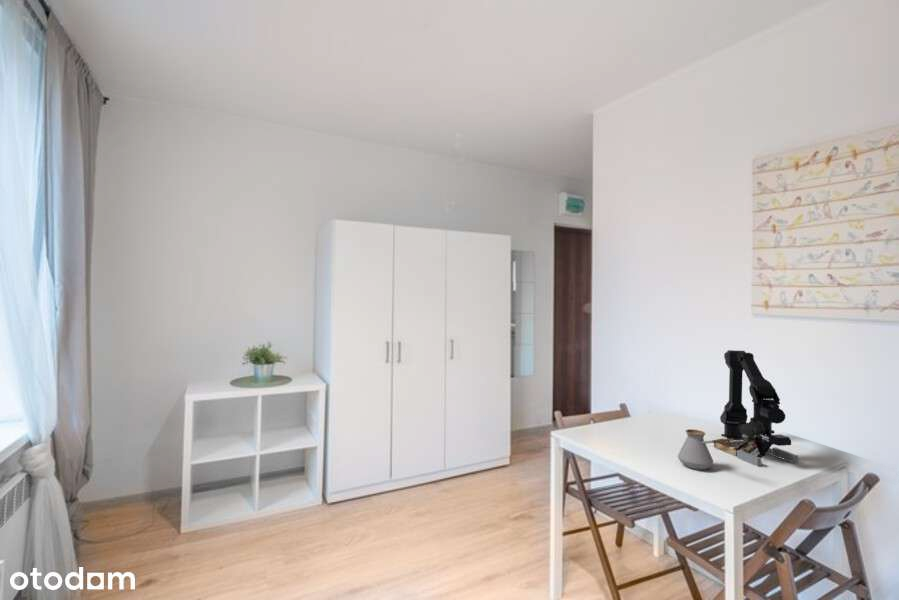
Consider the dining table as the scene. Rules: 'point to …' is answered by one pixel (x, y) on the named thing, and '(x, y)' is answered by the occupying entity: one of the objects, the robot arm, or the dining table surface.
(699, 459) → the coffee pot
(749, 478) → the dining table surface
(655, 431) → the dining table surface
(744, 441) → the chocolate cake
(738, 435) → the robot arm
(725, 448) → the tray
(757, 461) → the bay
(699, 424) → the dining table surface
